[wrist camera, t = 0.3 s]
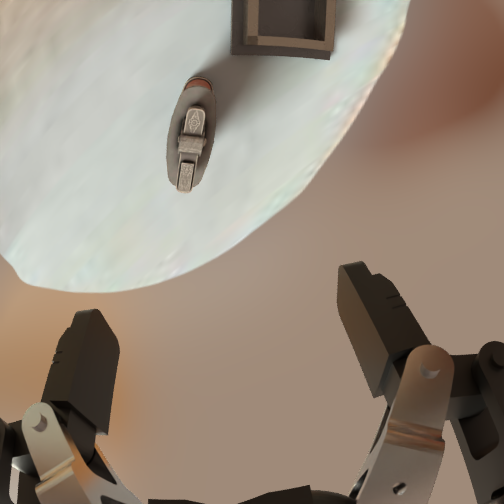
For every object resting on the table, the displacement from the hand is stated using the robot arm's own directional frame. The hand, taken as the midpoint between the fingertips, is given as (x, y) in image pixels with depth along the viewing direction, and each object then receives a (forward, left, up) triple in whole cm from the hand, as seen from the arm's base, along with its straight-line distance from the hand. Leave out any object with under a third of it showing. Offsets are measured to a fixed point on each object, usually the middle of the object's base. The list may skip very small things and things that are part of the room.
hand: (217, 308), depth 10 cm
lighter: (-1, -1, -23) cm, 23 cm away
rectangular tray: (-14, +7, -23) cm, 28 cm away
